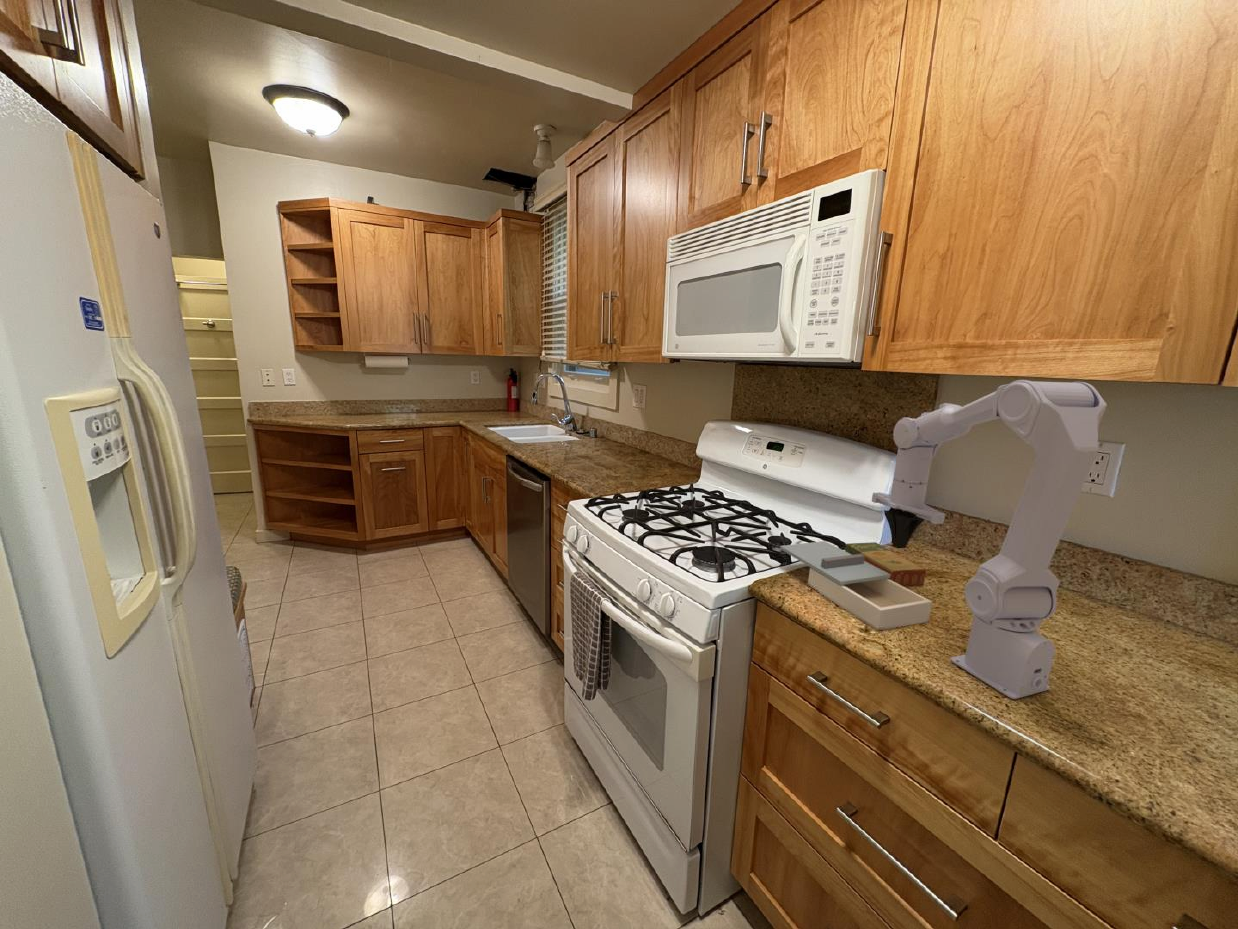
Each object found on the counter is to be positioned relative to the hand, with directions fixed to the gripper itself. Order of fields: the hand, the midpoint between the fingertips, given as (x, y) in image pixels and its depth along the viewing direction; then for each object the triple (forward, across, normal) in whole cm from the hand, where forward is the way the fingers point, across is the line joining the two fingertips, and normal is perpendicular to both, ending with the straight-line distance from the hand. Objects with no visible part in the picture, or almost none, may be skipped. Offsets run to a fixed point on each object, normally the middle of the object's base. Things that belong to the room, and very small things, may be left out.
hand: (899, 546), depth 96 cm
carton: (+11, -10, +8) cm, 17 cm away
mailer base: (+10, +1, -8) cm, 13 cm away
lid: (+6, -8, -8) cm, 13 cm away
